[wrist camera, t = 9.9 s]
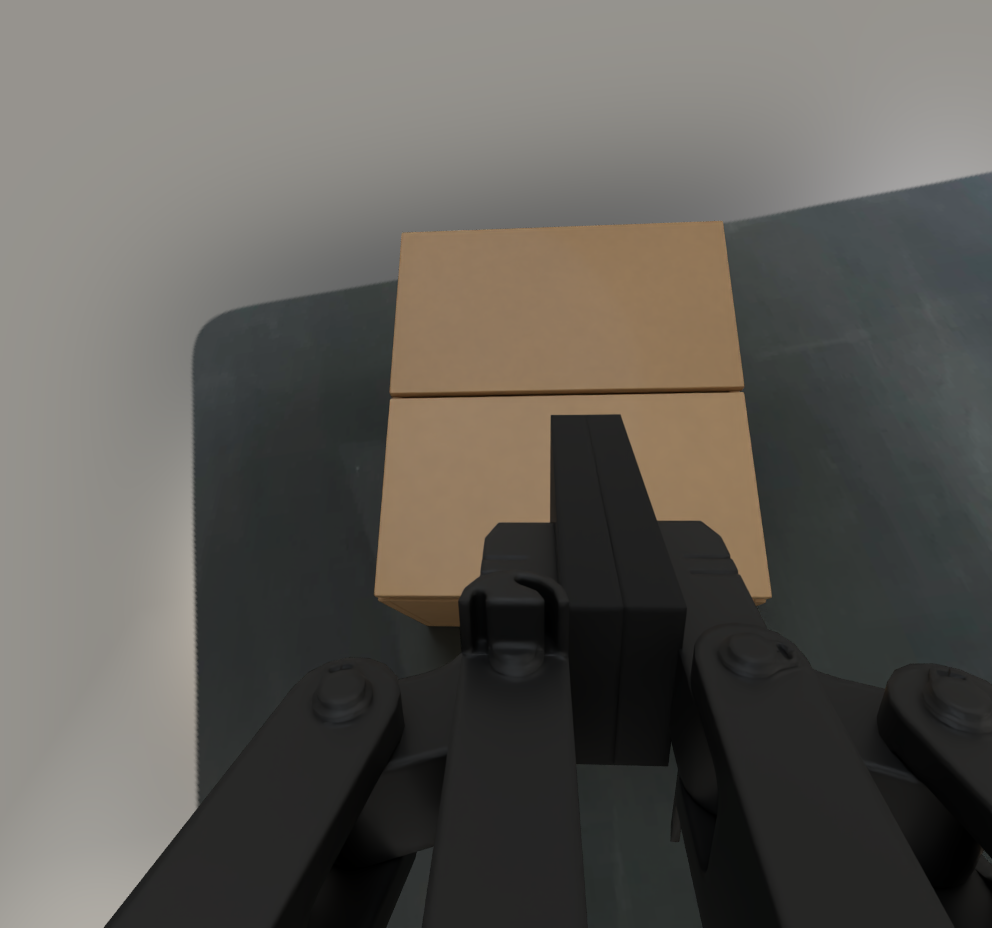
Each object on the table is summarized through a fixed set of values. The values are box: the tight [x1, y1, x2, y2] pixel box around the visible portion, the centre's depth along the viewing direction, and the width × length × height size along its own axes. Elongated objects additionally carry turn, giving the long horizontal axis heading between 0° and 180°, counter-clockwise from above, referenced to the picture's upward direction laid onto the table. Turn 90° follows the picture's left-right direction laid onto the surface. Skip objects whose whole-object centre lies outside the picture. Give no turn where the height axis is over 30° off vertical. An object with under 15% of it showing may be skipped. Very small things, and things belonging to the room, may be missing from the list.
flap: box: [374, 392, 772, 599], centre depth 23 cm, size 8×14×1 cm, turn 89°
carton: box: [378, 221, 766, 626], centre depth 30 cm, size 16×14×11 cm
